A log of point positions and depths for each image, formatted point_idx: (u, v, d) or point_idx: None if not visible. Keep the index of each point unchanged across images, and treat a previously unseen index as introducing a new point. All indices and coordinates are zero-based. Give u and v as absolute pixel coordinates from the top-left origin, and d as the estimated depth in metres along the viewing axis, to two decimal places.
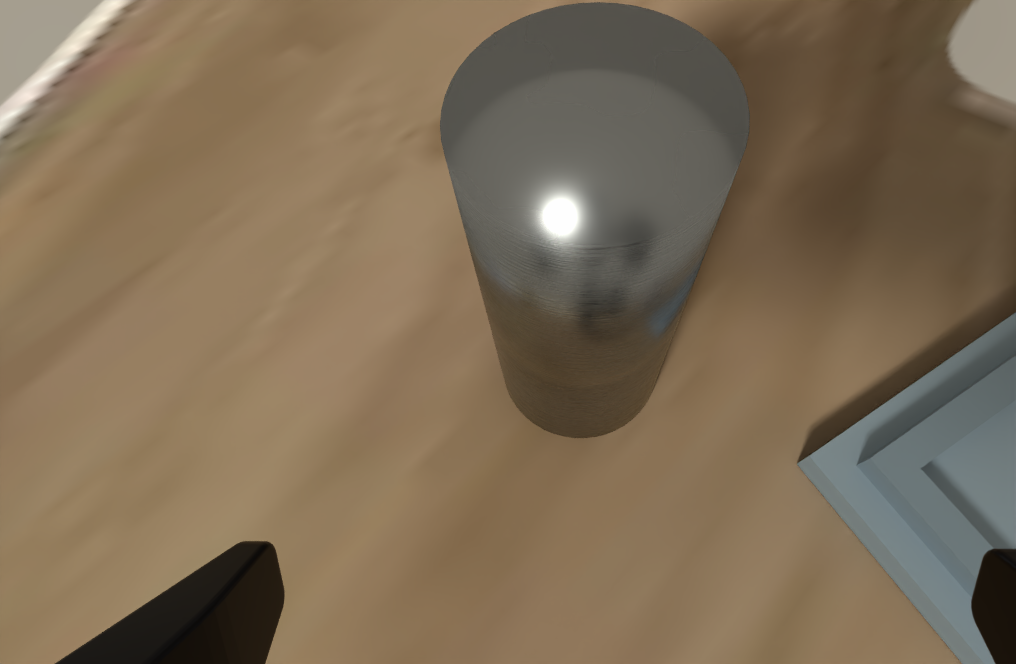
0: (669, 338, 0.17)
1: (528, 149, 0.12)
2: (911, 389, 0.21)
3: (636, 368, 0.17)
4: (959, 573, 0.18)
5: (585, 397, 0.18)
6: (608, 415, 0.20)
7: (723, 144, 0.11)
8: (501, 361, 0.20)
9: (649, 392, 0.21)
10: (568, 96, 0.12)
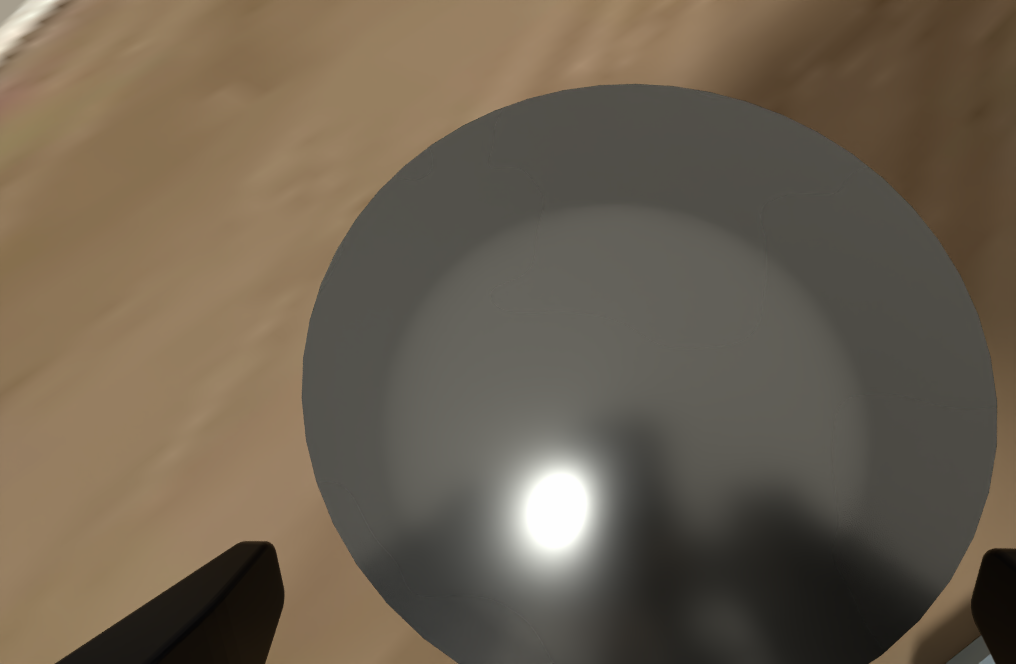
0: None
1: (490, 433, 0.05)
2: None
3: None
4: None
5: None
6: None
7: (941, 435, 0.05)
8: None
9: None
10: (578, 296, 0.06)
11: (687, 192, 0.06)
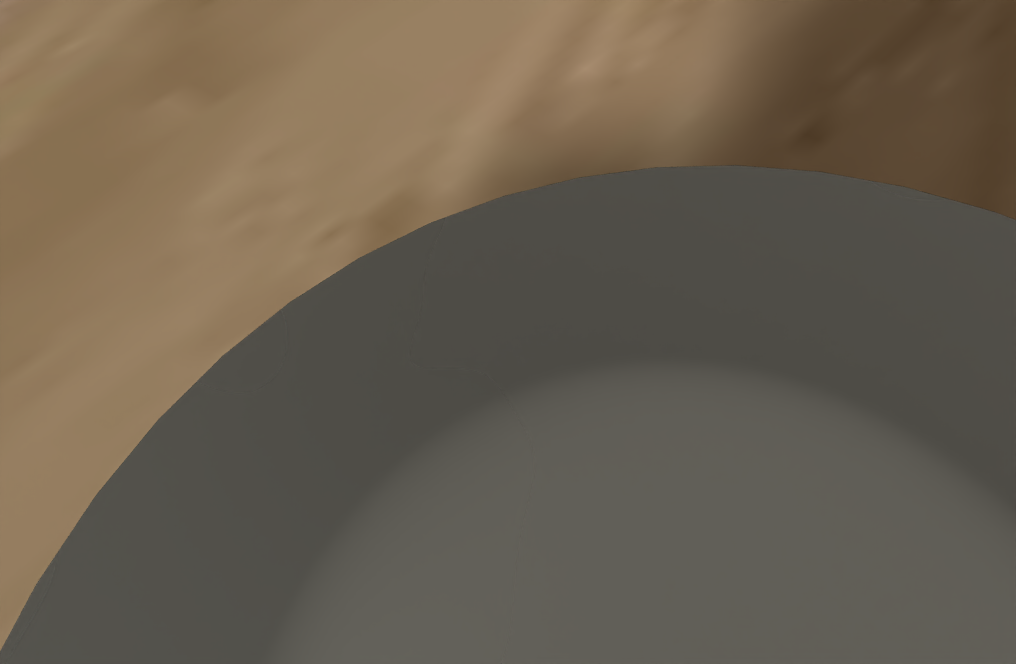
0: None
1: None
2: None
3: None
4: None
5: None
6: None
7: None
8: None
9: None
10: None
11: (885, 452, 0.02)
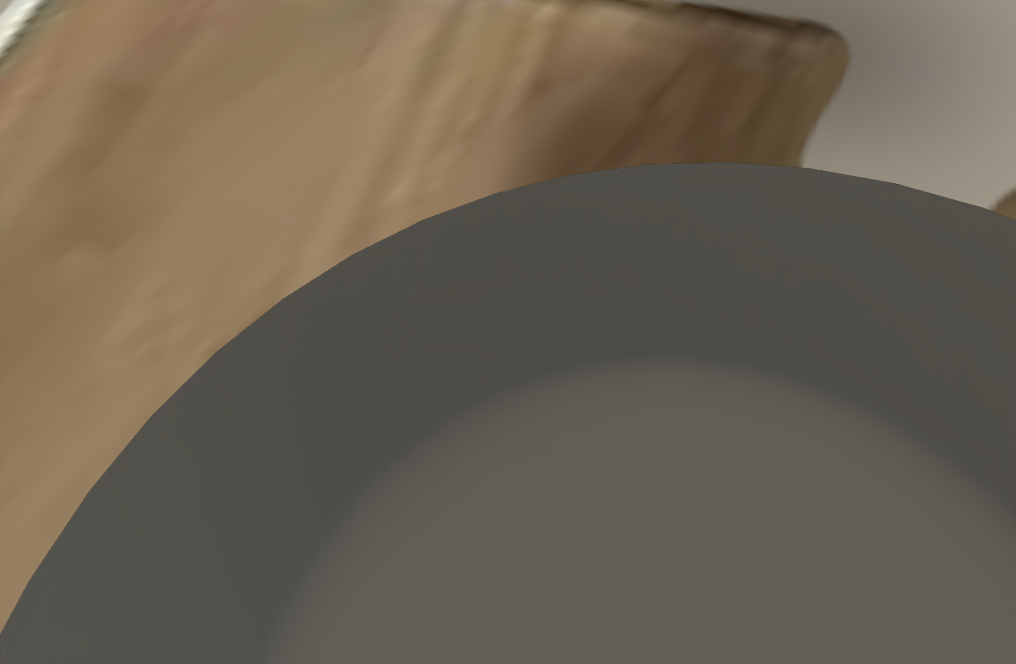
0: None
1: None
2: None
3: None
4: None
5: None
6: None
7: None
8: None
9: None
10: None
11: (875, 446, 0.02)
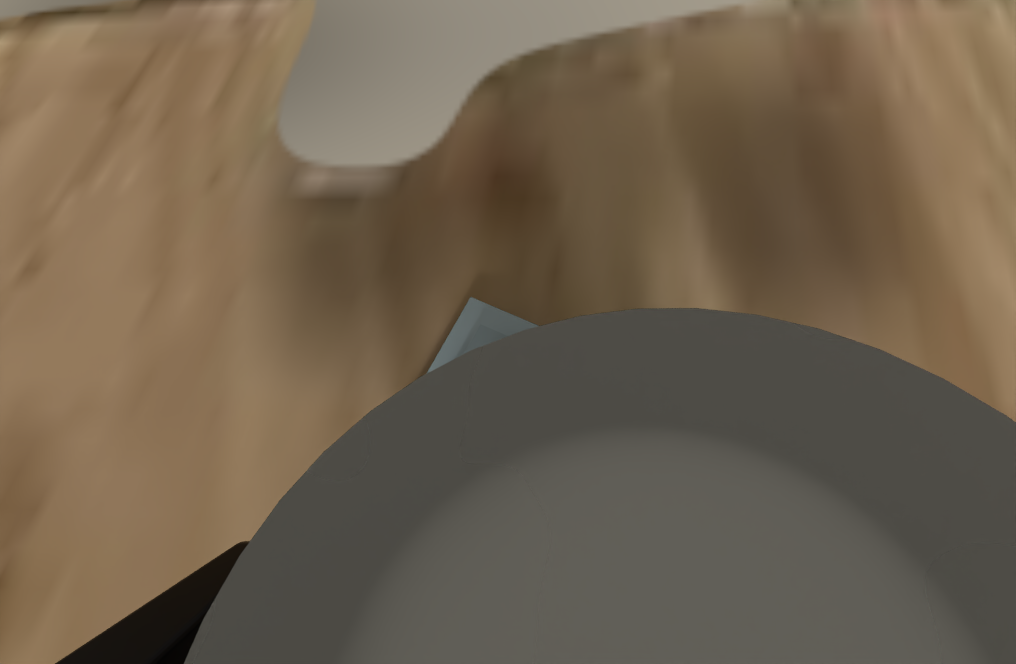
0: None
1: None
2: None
3: None
4: None
5: None
6: None
7: None
8: None
9: None
10: None
11: (793, 529, 0.04)
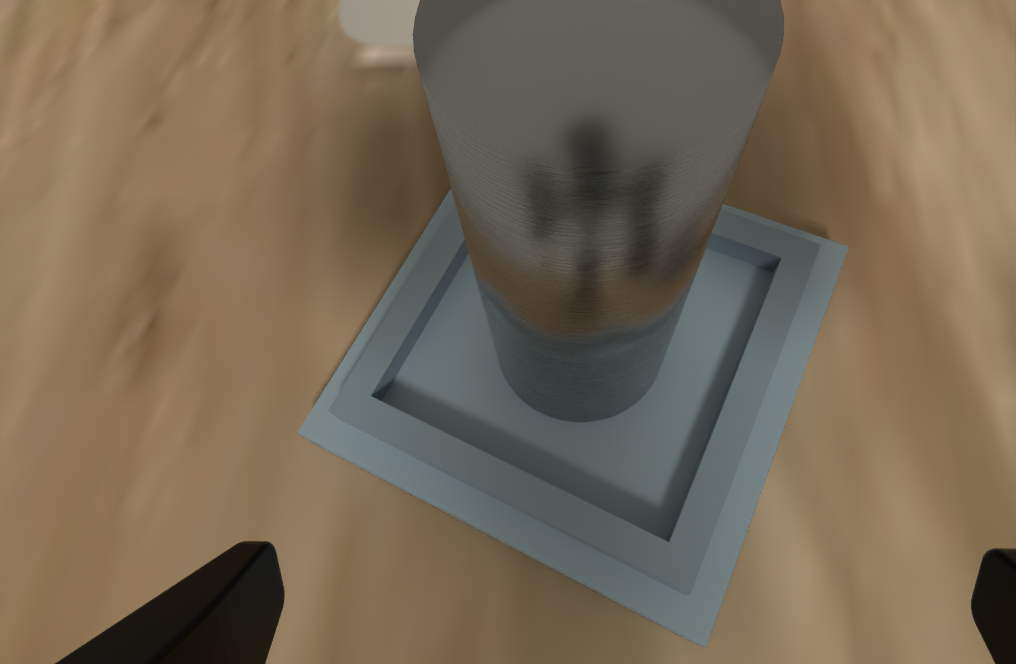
0: (681, 305, 0.15)
1: (518, 60, 0.10)
2: (365, 328, 0.23)
3: (644, 338, 0.15)
4: (433, 465, 0.20)
5: (587, 373, 0.16)
6: (612, 395, 0.18)
7: (752, 50, 0.09)
8: (493, 336, 0.18)
9: (656, 371, 0.20)
10: (566, 0, 0.10)
11: None
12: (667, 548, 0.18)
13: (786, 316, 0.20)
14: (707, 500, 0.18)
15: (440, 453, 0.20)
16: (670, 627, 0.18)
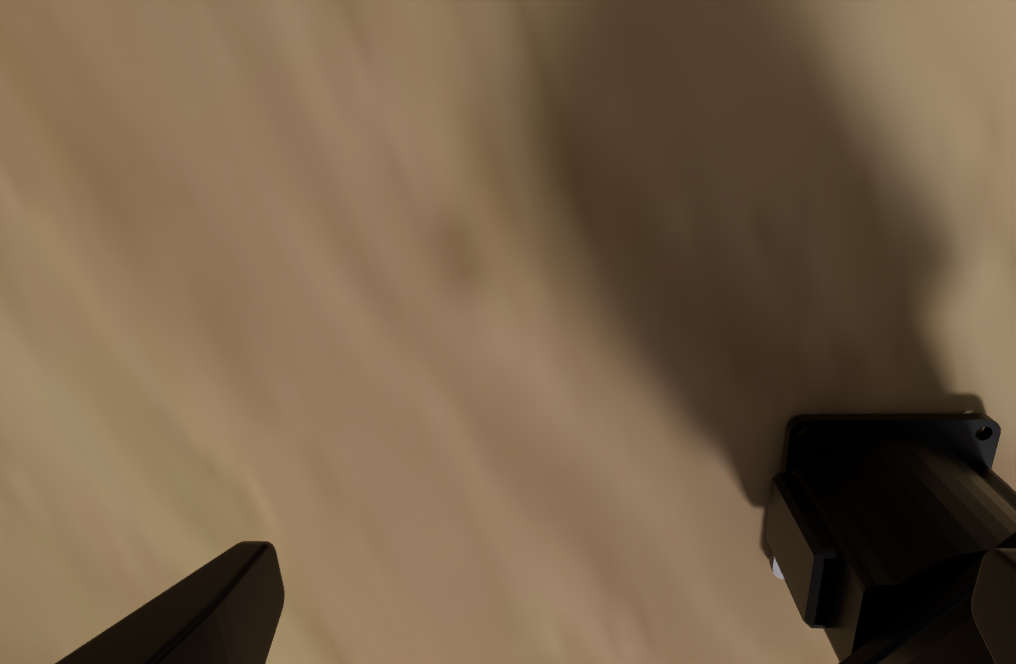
0: None
1: None
2: None
3: None
4: None
5: None
6: None
7: None
8: None
9: None
10: None
11: None
12: None
13: None
14: None
15: None
16: None
